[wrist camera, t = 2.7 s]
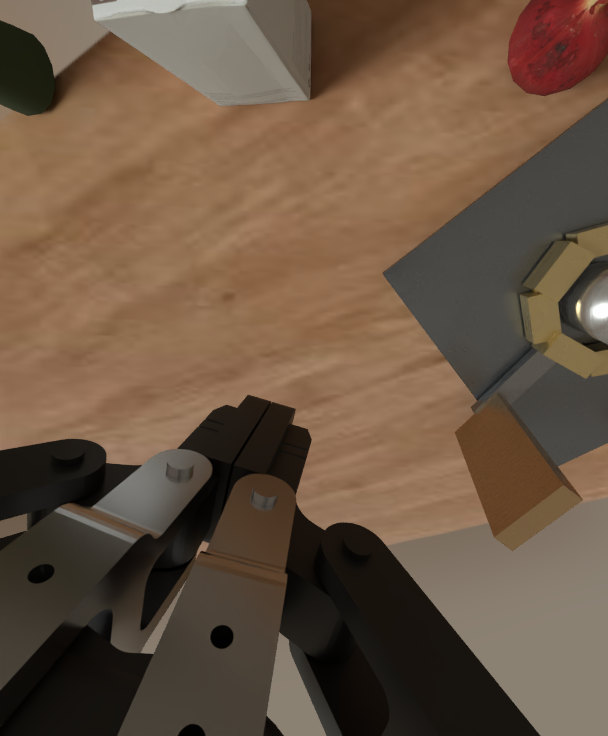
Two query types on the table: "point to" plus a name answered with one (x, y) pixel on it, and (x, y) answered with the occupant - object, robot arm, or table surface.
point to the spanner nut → (494, 411)
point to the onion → (558, 44)
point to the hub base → (521, 284)
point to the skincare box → (221, 44)
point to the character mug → (24, 72)
